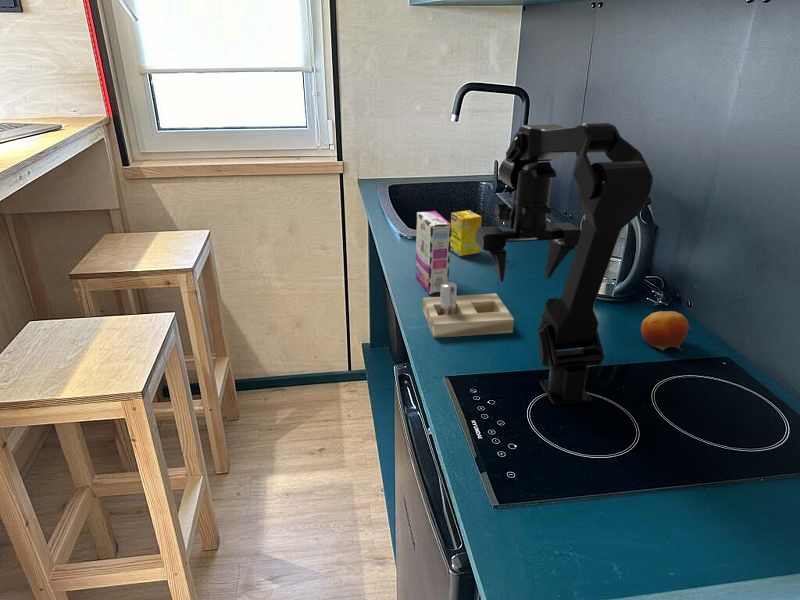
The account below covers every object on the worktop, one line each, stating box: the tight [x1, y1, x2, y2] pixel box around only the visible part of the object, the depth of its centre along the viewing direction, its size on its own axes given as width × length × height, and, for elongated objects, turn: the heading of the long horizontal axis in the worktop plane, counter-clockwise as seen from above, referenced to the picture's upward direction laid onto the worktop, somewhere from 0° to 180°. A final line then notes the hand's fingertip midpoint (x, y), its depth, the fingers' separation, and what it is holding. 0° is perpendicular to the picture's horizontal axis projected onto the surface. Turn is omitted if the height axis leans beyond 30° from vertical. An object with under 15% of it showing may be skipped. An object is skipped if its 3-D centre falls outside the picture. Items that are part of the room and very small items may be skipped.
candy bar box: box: [415, 210, 452, 295], centre depth 129 cm, size 11×5×16 cm, turn 15°
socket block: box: [422, 293, 515, 339], centre depth 115 cm, size 12×16×3 cm
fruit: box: [640, 310, 690, 352], centre depth 106 cm, size 8×8×8 cm
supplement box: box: [450, 209, 483, 259], centre depth 149 cm, size 6×6×11 cm
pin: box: [439, 281, 458, 315], centre depth 114 cm, size 3×3×8 cm
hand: (524, 279), depth 106 cm, fingers open, 9 cm apart
